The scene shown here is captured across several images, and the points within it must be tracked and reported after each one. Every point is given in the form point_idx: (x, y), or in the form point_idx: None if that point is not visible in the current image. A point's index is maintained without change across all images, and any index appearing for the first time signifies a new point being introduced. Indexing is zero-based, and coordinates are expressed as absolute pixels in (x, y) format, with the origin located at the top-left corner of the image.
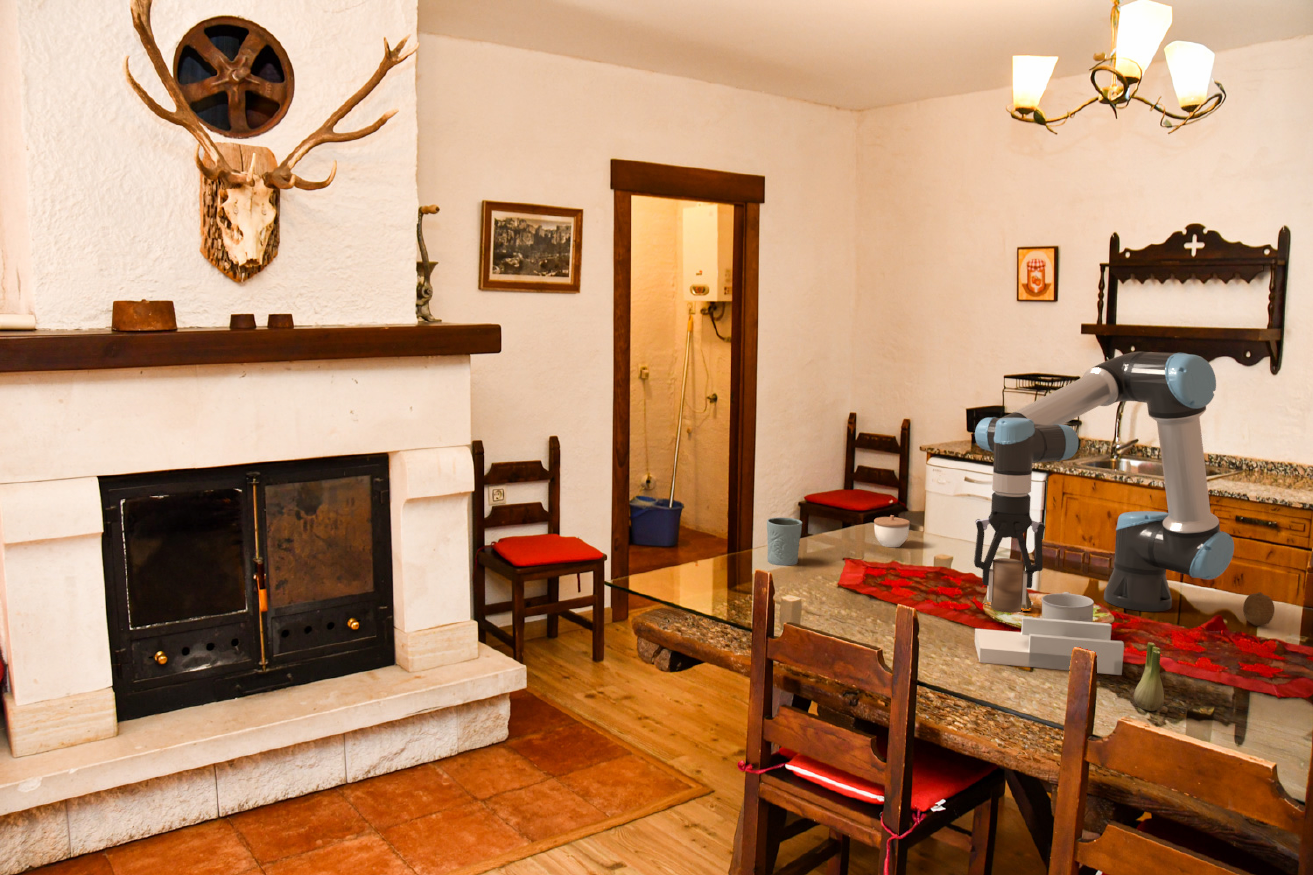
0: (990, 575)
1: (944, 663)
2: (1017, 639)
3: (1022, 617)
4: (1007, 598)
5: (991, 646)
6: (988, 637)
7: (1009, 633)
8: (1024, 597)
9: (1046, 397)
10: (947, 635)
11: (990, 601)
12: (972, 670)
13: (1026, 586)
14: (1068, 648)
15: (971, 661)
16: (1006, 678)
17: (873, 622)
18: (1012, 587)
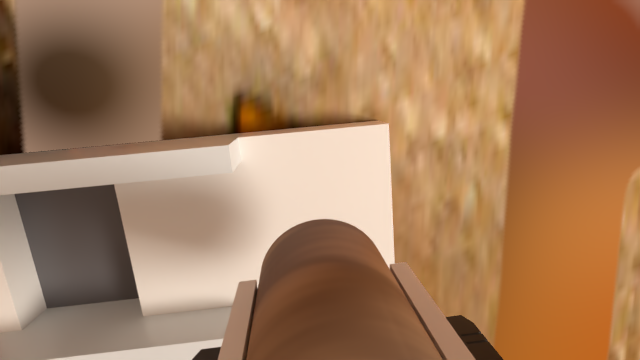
0: (458, 346)
1: (474, 75)
2: None
3: None
4: (327, 243)
5: (354, 153)
6: None
7: None
8: (241, 299)
9: None
10: (453, 309)
11: (396, 264)
12: (400, 42)
13: (224, 337)
14: (105, 152)
15: (399, 120)
16: (306, 5)
17: (635, 338)
18: (307, 278)
